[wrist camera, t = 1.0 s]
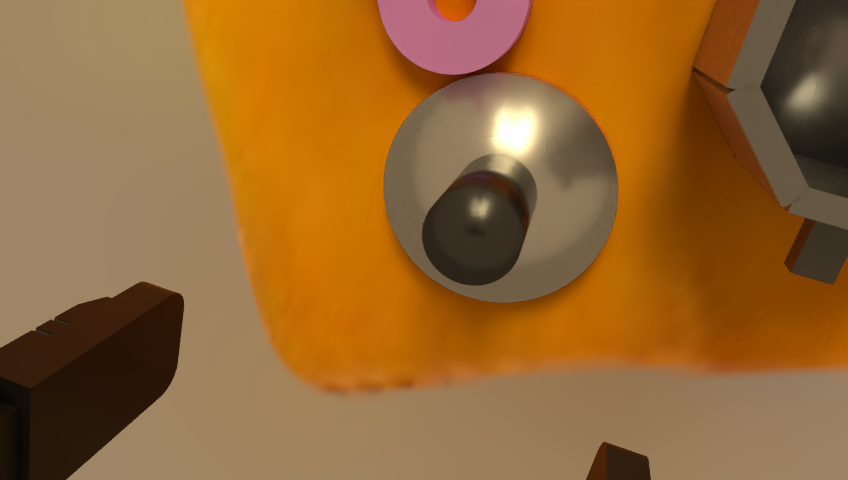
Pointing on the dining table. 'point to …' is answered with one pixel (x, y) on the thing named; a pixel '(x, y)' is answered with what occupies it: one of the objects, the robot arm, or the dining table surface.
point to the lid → (501, 187)
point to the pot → (787, 112)
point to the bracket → (454, 33)
